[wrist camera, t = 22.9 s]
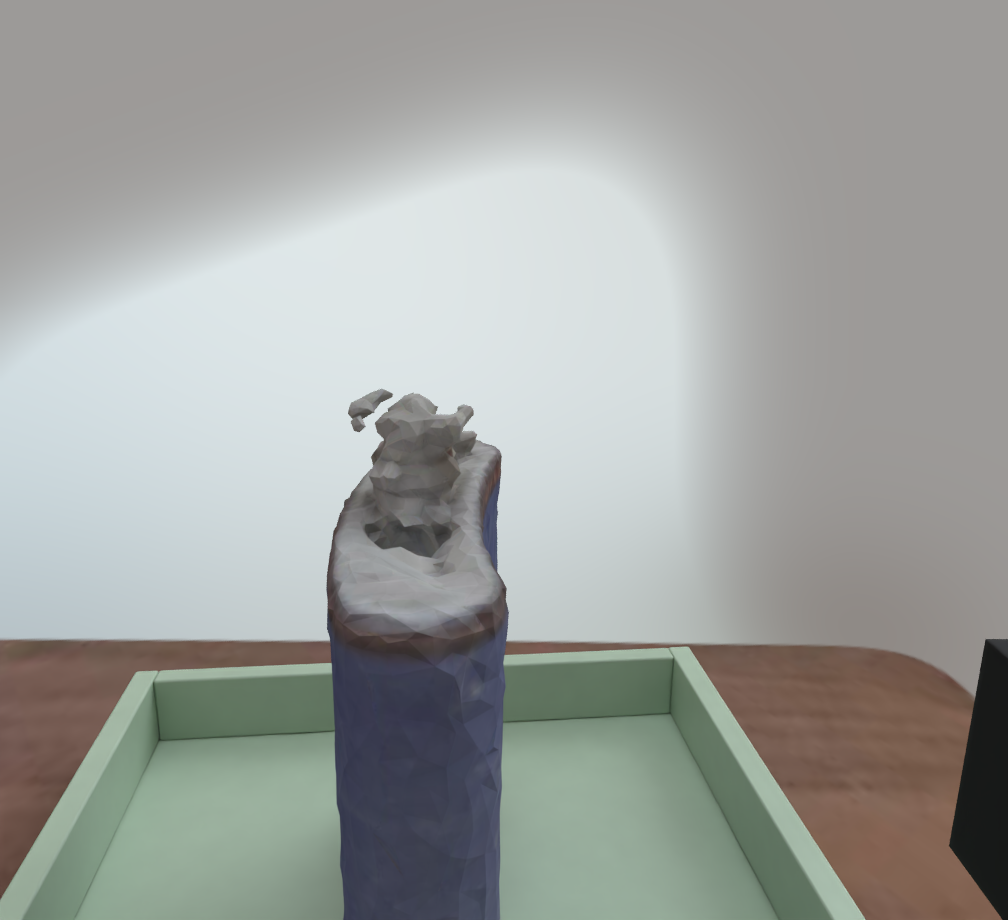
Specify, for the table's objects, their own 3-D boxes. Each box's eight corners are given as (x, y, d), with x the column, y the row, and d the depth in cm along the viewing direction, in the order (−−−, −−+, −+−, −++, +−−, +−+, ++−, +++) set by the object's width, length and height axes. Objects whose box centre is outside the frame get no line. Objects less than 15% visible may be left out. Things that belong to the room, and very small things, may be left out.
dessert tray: (683, 720, 25) (688, 646, 25) (1055, 1403, 11) (1094, 1267, 10) (145, 748, 24) (135, 670, 23) (-275, 1598, 9) (-332, 1451, 8)
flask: (506, 1175, 13) (511, 475, 10) (305, 1178, 13) (250, 475, 10) (498, 780, 22) (499, 353, 19) (381, 781, 21) (363, 353, 19)
